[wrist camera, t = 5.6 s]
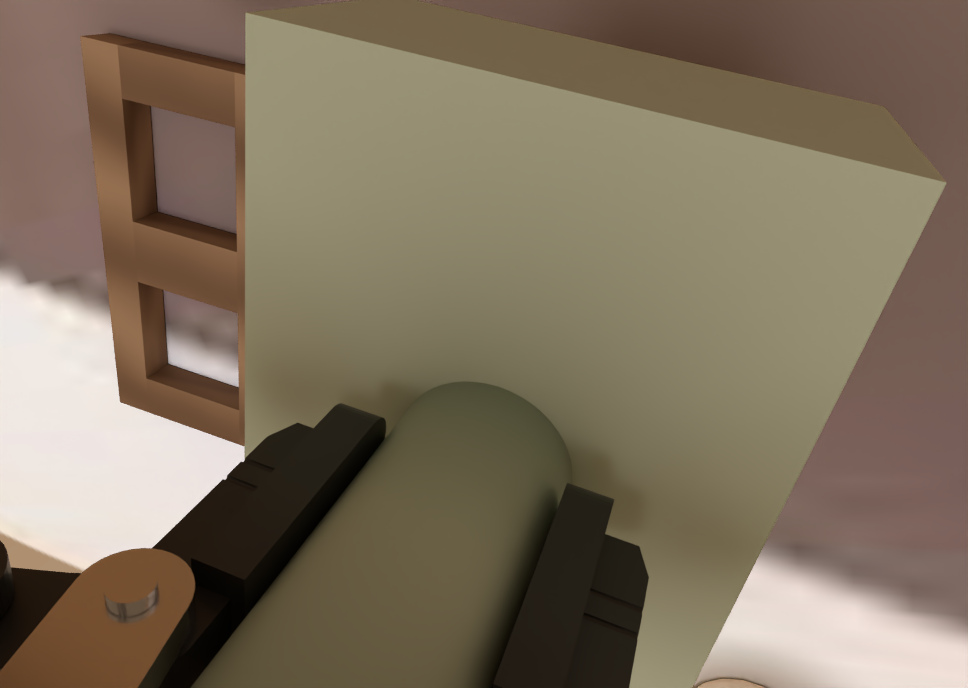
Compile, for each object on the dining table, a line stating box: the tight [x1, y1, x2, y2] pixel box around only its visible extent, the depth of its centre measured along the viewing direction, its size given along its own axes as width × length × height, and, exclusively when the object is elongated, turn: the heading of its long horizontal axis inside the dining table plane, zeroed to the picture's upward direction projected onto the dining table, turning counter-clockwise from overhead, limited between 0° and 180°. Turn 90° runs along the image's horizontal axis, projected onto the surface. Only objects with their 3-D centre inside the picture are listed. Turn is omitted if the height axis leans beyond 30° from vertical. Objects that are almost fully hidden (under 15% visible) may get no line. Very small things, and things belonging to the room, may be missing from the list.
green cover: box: [191, 0, 947, 688], centre depth 12 cm, size 12×9×11 cm
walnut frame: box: [80, 33, 245, 446], centre depth 34 cm, size 18×9×2 cm, turn 171°
